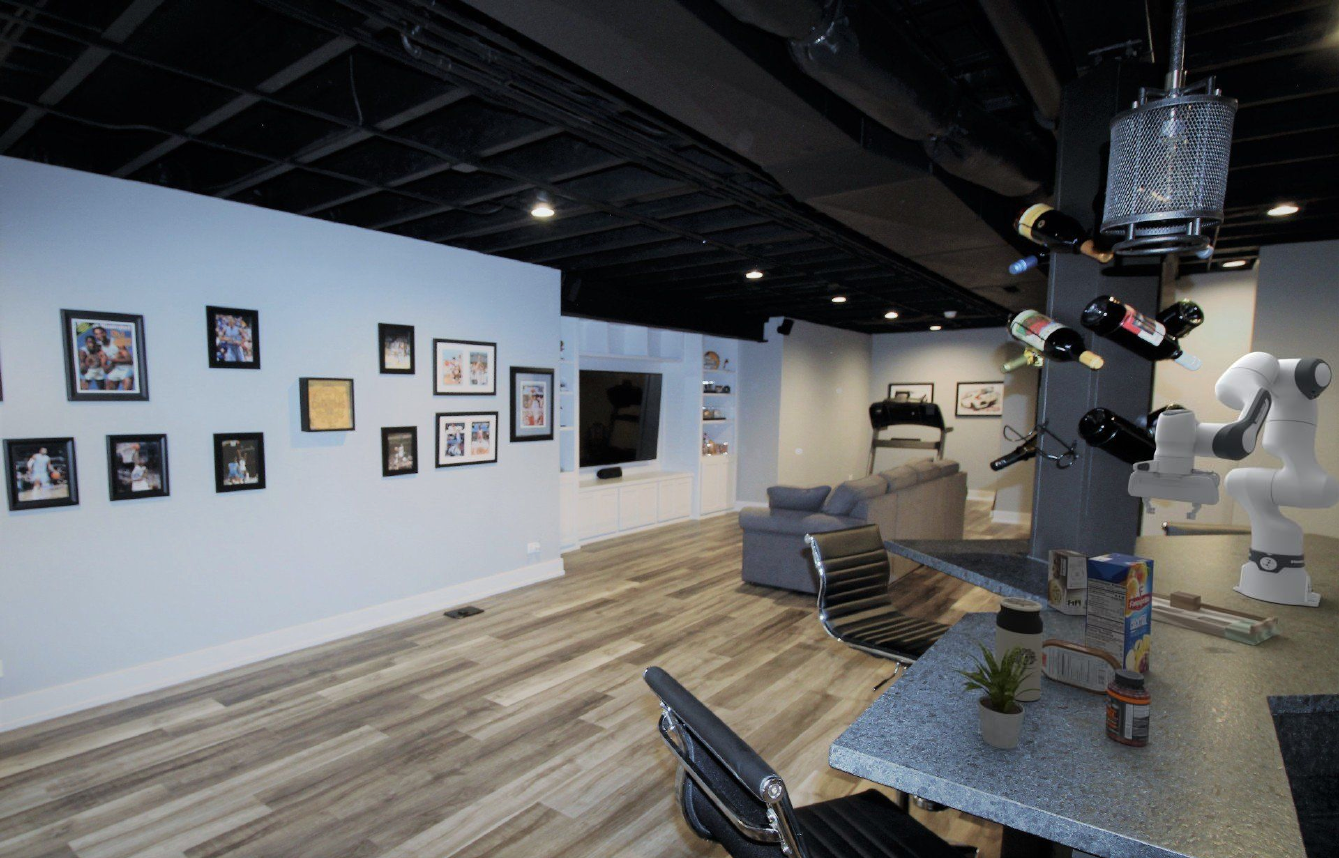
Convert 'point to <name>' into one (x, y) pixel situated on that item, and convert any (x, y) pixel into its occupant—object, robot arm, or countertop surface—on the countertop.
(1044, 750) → the countertop surface
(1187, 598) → the walnut block
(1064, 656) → the tin
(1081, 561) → the coffee box
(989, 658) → the house plant
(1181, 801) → the countertop surface
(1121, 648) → the juice carton
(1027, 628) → the travel mug
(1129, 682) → the supplement bottle
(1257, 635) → the box
